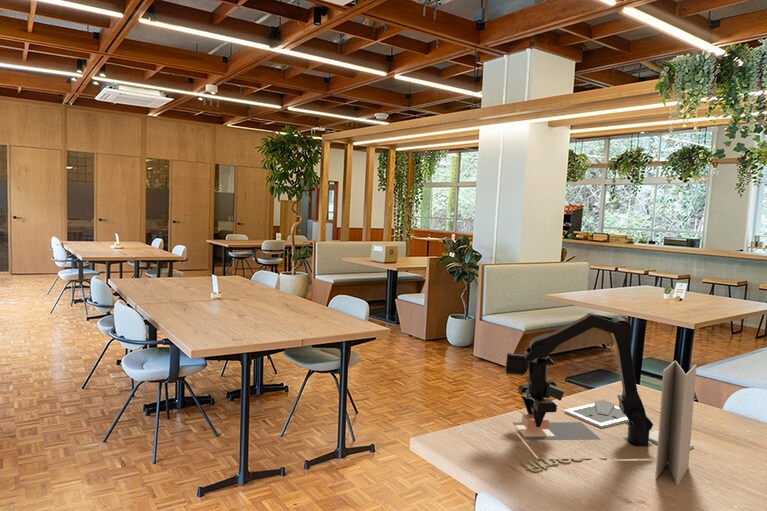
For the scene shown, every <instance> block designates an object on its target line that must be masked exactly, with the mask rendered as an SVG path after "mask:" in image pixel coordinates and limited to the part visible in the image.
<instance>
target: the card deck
mask: <svg viewBox="0 0 767 511" xmlns="http://www.w3.org/2000/svg"><path fill="white" fill-rule="evenodd" d="M521 416H522V418H521V422H522V424H523V425H524V426H525V427H526V429H549V422H550V420H549V418H547V416H546V415H545V416H544V418H543V421H542V423H541V426H540V427H537V426H536V424H535V420H534V416H533V414H528V413H527V414H522V415H521Z"/></svg>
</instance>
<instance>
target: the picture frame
mask: <svg viewBox="0 0 767 511" xmlns="http://www.w3.org/2000/svg"><path fill="white" fill-rule="evenodd" d="M564 413H565V414H567V415H570V416H571V417H574V418H576V419H578V420H581V421H582V422H585V423H588V424H590V425H593V426H595V427H597V428H599V429H604V428H608V427H612V426H616V425H621V424H625V425H628V424H629V420H628V418H627V417H626V415H625V414H623V412H622V411H621V409H620V408H619V406H616V404H615V403H612V402H610V401H608V400H605V399H601V400H596V401H594V402H593V403H590V404H585V405H582V406H576V407H571V408H568V409H567V408H566V409H564Z"/></svg>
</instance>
